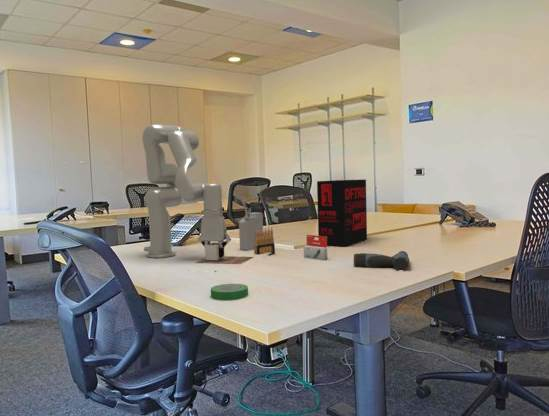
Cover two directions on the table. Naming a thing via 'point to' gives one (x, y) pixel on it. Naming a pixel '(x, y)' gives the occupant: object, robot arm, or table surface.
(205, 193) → the robot arm
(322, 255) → the ink cartridge box
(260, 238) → the ammunition clip
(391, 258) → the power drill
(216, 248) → the grey block
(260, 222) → the fuel canister
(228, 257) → the board
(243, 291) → the tape roll
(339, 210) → the product box
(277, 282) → the table surface
